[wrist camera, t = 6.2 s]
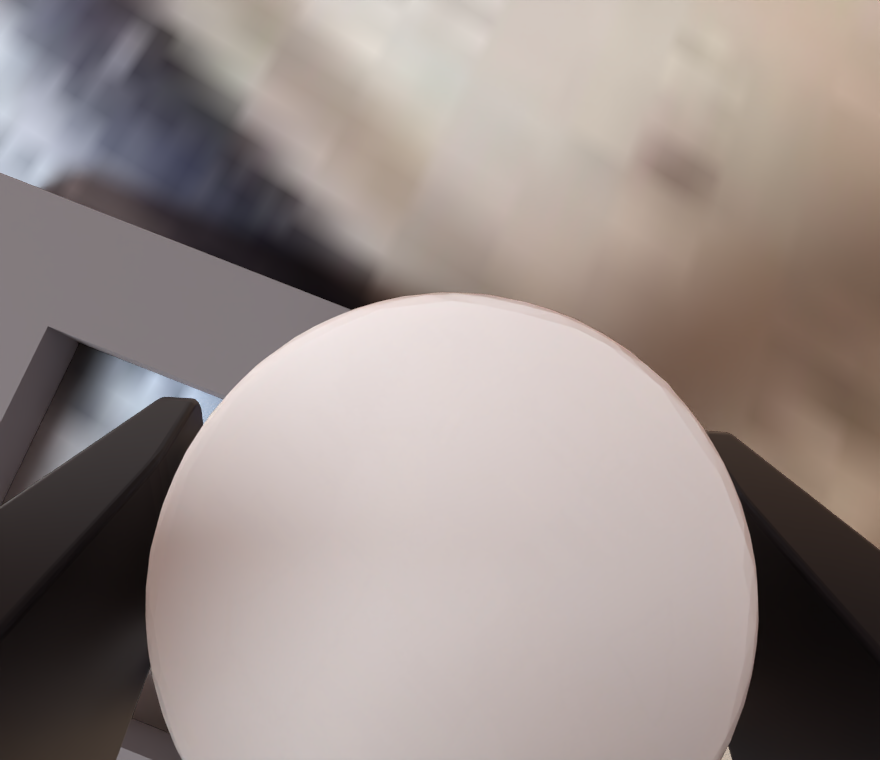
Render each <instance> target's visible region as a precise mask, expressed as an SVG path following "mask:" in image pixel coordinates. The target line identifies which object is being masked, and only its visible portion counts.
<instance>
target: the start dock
mask: <svg viewBox="0 0 880 760" xmlns="http://www.w3.org/2000/svg"><path fill="white" fill-rule="evenodd" d="M348 311H351V310H350V309H348V308H345V307H342V306H340V305H337V304H335V303H332V302H330V301H327V300H325V299H322V298H319V297H317V296H314V295H312V294H309V293H307V292H304V291H301V290H299V289H296V288H294V287H291V286H289V285H286V284H284V283H281V282H278V281H276V280H273V279H271V278H268V277H266V276H263V275H261V274H258V273H255V272H253V271H250V270H248V269H245V268H243V267H240V266H237V265H235V264H232V263H230V262H227V261H225V260H222V259H220V258H217V257H214V256H212V255H209V254H207V253H204V252H202V251H199V250H197V249H194V248H191V247H189V246H186V245H184V244H181V243H179V242H176V241H174V240H171V239H168V238H166V237H163V236H161V235H158V234H156V233H153V232H150V231H148V230H145V229H143V228H140V227H138V226H135V225H133V224H130V223H127V222H125V221H122V220H120V219H117V218H115V217H112V216H110V215H107V214H104V213H102V212H99V211H97V210H94V209H92V208H89V207H86V206H84V205H81V204H79V203H76V202H74V201H71V200H69V199H66V198H63V197H61V196H58V195H56V194H53V193H51V192H48V191H46V190H43V189H40V188H38V187H35V186H33V185H30V184H28V183H25V182H23V181H20V180H17V179H15V178H12V177H10V176H7V175H5V174H2V173H0V506H1V504H2V502H3V500H4V498H5V496H6V494H7V492H8V489H9V487H10V485H11V483H12V481H13V479H14V477H15V475H16V473H17V471H18V469H19V467H20V465H21V463H22V461H23V458H24V456H25V454H26V452H27V450H28V448H29V446H30V444H31V442H32V440H33V438H34V436H35V434H36V432H37V429H38V427H39V425H40V423H41V421H42V419H43V417H44V415H45V413H46V411H47V409H48V407H49V405H50V403H51V401H52V398H53V396H54V394H55V392H56V390H57V388H58V386H59V384H60V382H61V380H62V378H63V376H64V374H65V372H66V370H67V367H68V365H69V363H70V361H71V359H72V357H73V355H74V353H75V351H76V349H77V347H78V345H79V343H81V344H84V345H87V346H89V347H92V348H94V349H97V350H99V351H102V352H104V353H107V354H109V355H112V356H115V357H117V358H120V359H122V360H125V361H127V362H130V363H132V364H135V365H137V366H140V367H142V368H145V369H148V370H150V371H153V372H155V373H158V374H160V375H163V376H165V377H168V378H170V379H173V380H175V381H178V382H181V383H183V384H186V385H188V386H191V387H193V388H196V389H198V390H201V391H203V392H206V393H208V394H211V395H214V396H216V397H219V398H221V399H224V398H225V397H226V396H227V395H228V393H229V392H230V391H231V390H232V389H233V388H234V387H235V386H236V385H237V384H238V383H239V382H240V381H241V380H242V379H243V378H244V377H245V376H246V375H247V374H248V373H249V372H250V371H251V370H252V369H253V368H254V367H255V366H256V365H257V364H259V363H260V362H261V361H263V360H264V359H265V358H267V357H268V356H269V355H271V354H272V353H273V352H275V351H276V350H278V349H279V348H281V347H282V346H283V345H285V344H286V343H288V342H289V341H290V340H292V339H293V338H295V337H296V336H298V335H300V334H302V333H303V332H305V331H307V330H309V329H311V328H312V327H314V326H316V325H318V324H320V323H323V322H325V321H327V320H329V319H331V318H334V317H336V316H338V315H341V314H343V313H346V312H348ZM116 760H182V759H181V757H180V755H179V753H178V751H177V749H176V747H175V745H174V742H173V740H172V737H171V735H170V733H167V732H165V731H162V730H160V729H157V728H155V727H152V726H150V725H147V724H145V723H142V722H140V721H137V720H135V719H132V718H131V721H130V724H129V727H128V729H127V732H126V735H125V737H124V740H123V743H122V746H121V748H120V751H119V754H118V757H117V759H116Z"/></svg>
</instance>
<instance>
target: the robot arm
mask: <svg viewBox="0 0 880 760" xmlns="http://www.w3.org/2000/svg"><path fill="white" fill-rule="evenodd" d="M202 426H203V419H202V411H201V407H200V404H199V402H197V401H196V400H195V399H191V398H176V397H162V398H160V399H158V400H156V401H155V402H153V403H152V404H150V405H149V406H147V407H146V408H145V409H143V410H142V411H140V412H139V413H137V414H136V415H134V416H133V417H131V418H130V419H128V420H127V421H125V422H124V423H123V424H121V425H120V426H118V427H117V428H115V429H114V430H112V431H111V432H109V433H108V434H106V435H105V436H103V437H102V438H100V439H99V440H98V441H96V442H95V443H93V444H92V445H90V446H89V447H87V448H86V449H84V450H83V451H81V452H80V453H78V454H77V455H75V456H74V457H73V458H71V459H70V460H68V461H67V462H65V463H64V464H62V465H61V466H59V467H58V468H56V469H55V470H53V471H52V472H51V473H49V474H48V475H46V476H45V477H43V478H42V479H40V480H39V481H37V482H36V483H34V484H33V485H31V486H30V487H28V488H27V489H26V490H24V491H23V492H21V493H20V494H18V495H17V496H15V497H14V498H12V499H11V500H9V501H8V502H6V503H5V504H3V505H2V506H1V507H0V760H116V759H117V757H118V754H119V751H120V748H121V746H122V743H123V740H124V737H125V735H126V732H127V729H128V727H129V724H130V721H131V718H132V716H133V713H134V710H135V707H136V705H137V702H138V699H139V696H140V694H141V691H142V688H143V686H144V683H145V680H146V677H147V675H148V672H149V669H150V659H149V652H148V644H147V634H146V617H145V613H146V582H147V574H148V565H149V556H150V549H151V546H152V542H153V538H154V534H155V530H156V527H157V523H158V519H159V516H160V512H161V509H162V505H163V503H164V500H165V498H166V495H167V493H168V490H169V488H170V485H171V483H172V480H173V478H174V476H175V474H176V471H177V469H178V467H179V465H180V463H181V461H182V459H183V457H184V455H185V453H186V451H187V449H188V448H189V446H190V445H191V443H192V442H193V440H194V438H195V437H196V435H197V434H198V432H199V430H200V429H201V427H202ZM705 432H706V433H707V435H708V436H709V438H710V440H711V441H712V443H713V445H714V446H715V448H716V450H717V452H718V453H719V455H720V457H721V459H722V461H723V462H724V464H725V467H726V469H727V471H728V473H729V475H730V478H731V480H732V482H733V485H734V487H735V490H736V492H737V495H738V497H739V500H740V502H741V505H742V508H743V512H744V515H745V519H746V522H747V526H748V529H749V533H750V537H751V542H752V548H753V553H754V558H755V564H756V575H757V590H758V618H759V622H758V634H757V647H756V653H755V659H754V665H753V671H752V677H751V681H750V684H749V688H748V692H747V696H746V700H745V704H744V707H743V709H742V712H741V715H740V717H739V720H738V723H737V725H736V728H735V731H734V733H733V736H732V739H731V741H730V743H729V745H728V747H729V750H730V754H731V757H732V760H880V550H879V549H878V548H877V547H875V546H874V545H873V544H872V543H870V542H869V541H868V540H866V539H865V538H864V537H863V536H861V535H860V534H859V533H858V532H856V531H855V530H854V529H852V528H851V527H850V526H849V525H847V524H846V523H845V522H843V521H842V520H841V519H840V518H838V517H837V516H836V515H834V514H833V513H832V512H831V511H829V510H828V509H827V508H826V507H824V506H823V505H822V504H820V503H819V502H818V501H817V500H815V499H814V498H813V497H811V496H810V495H809V494H808V493H806V492H805V491H804V490H803V489H801V488H800V487H799V486H797V485H796V484H795V483H794V482H792V481H791V480H790V479H788V478H787V477H786V476H785V475H783V474H782V473H781V472H779V471H778V470H777V469H776V468H774V467H773V466H772V465H771V464H769V463H768V462H767V461H765V460H764V459H763V458H762V457H760V456H759V455H758V454H756V453H755V452H754V451H753V450H751V449H750V448H749V447H748V446H746V445H745V444H744V443H742V442H741V441H740V440H739V439H737V438H736V437H735V436H733V435H732V434H730V433H727V432H717V431H705Z"/></svg>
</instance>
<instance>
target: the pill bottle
mask: <svg viewBox="0 0 880 760" xmlns="http://www.w3.org/2000/svg"><path fill="white" fill-rule="evenodd" d="M145 617H146V634H147V644H148V652H149V659H150V666H151V672H152V678H153V682H154V685H155V689H156V693H157V696H158V700H159V704H160V707H161V711H162V714H163V717H164V720H165V722H166V725H167V727H168V730H169V732H170V735H171V737H172V740H173V742H174V745H175V747H176V749H177V751H178V753H179V755H180V757H181V759H182V760H721V758H722V757H723V755H724V753H725V751H726V749H727V747H728V745H729V743H730V741H731V739H732V736H733V733H734V731H735V728H736V725H737V723H738V720H739V717H740V715H741V712H742V709H743V707H744V704H745V700H746V696H747V692H748V688H749V684H750V681H751V677H752V671H753V665H754V659H755V653H756V647H757V634H758V622H759V618H758V590H757V575H756V564H755V558H754V553H753V548H752V542H751V537H750V533H749V529H748V526H747V522H746V519H745V515H744V512H743V508H742V505H741V502H740V500H739V497H738V495H737V492H736V490H735V487H734V485H733V482H732V480H731V478H730V475H729V473H728V471H727V469H726V467H725V464H724V462H723V461H722V459H721V457H720V455H719V453H718V452H717V450H716V448H715V446H714V445H713V443H712V441H711V440H710V438H709V436H708V435H707V433H706V432H705V430H704V428H703V427H702V425H701V424H700V423H699V421H698V420H697V419H696V417H695V416H694V415H693V414H692V412H691V411H690V410H689V408H688V407H687V406H686V404H685V403H684V402H683V401H682V400H681V399H680V398H679V397H678V396H677V394H676V393H675V392H674V391H673V389H672V388H671V387H670V386H669V384H668V383H667V382H666V381H665V380H663V379H662V378H661V377H660V376H659V375H658V374H656V373H655V372H654V371H653V370H652V369H650V368H649V367H648V366H647V365H646V364H645V363H643V362H642V361H641V360H640V359H639V358H637V357H636V356H635V355H634V354H633V353H632V352H630V351H629V350H628V349H626V348H625V347H623V346H622V345H620V344H618V343H617V342H615V341H614V340H612V339H611V338H609V337H608V336H606V335H604V334H603V333H601V332H599V331H597V330H595V329H593V328H591V327H590V326H588V325H586V324H584V323H582V322H580V321H578V320H576V319H574V318H572V317H569V316H567V315H564V314H561V313H559V312H556V311H554V310H551V309H548V308H544V307H541V306H538V305H534V304H531V303H527V302H524V301H519V300H514V299H508V298H503V297H498V296H493V295H487V294H473V293H446V292H439V293H429V294H420V295H410V296H402V297H398V298H393V299H389V300H384V301H380V302H376V303H373V304H369V305H366V306H363V307H359V308H356V309H354V310H351V311H348V312H346V313H343V314H341V315H338V316H336V317H334V318H331V319H329V320H327V321H325V322H323V323H320V324H318V325H316V326H314V327H312V328H311V329H309V330H307V331H305V332H303V333H302V334H300V335H298V336H296V337H295V338H293V339H292V340H290V341H289V342H288V343H286V344H285V345H283V346H282V347H281V348H279V349H278V350H276V351H275V352H273V353H272V354H271V355H269V356H268V357H267V358H265V359H264V360H263V361H261V362H260V363H259V364H257V365H256V366H255V367H254V368H253V369H252V370H251V371H250V372H249V373H248V374H247V375H246V376H245V377H244V378H243V379H242V380H241V381H240V382H239V383H238V384H237V385H236V386H235V387H234V388H233V389H232V390H231V391H230V392H229V393H228V395H227V396H226V397H225V398H224V399H223V401H222V402H221V403H220V404H219V405H218V406H217V408H216V409H215V410H214V411H213V412H212V413H211V415H210V416H209V418H208V419H207V420H206V422H205V423H204V425H203V426H202V427H201V429H200V430H199V432H198V434H197V435H196V437H195V438H194V440H193V442H192V443H191V445H190V446H189V448H188V449H187V451H186V453H185V455H184V457H183V459H182V461H181V463H180V465H179V467H178V469H177V471H176V474H175V476H174V478H173V480H172V483H171V485H170V488H169V490H168V493H167V495H166V498H165V500H164V503H163V505H162V509H161V512H160V516H159V519H158V523H157V527H156V530H155V534H154V538H153V542H152V546H151V549H150V556H149V565H148V574H147V582H146V613H145Z"/></svg>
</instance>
